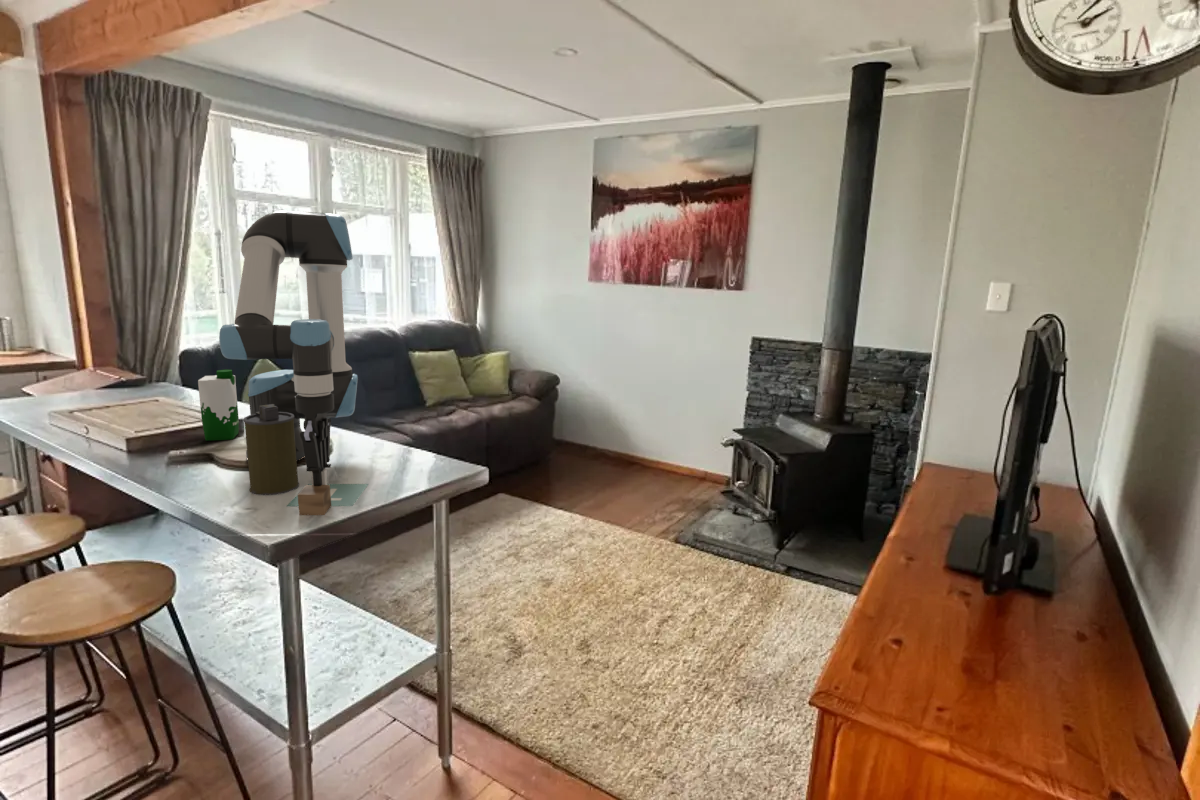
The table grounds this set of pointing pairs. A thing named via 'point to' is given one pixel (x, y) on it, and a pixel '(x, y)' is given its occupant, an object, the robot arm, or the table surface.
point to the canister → (271, 451)
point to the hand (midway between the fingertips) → (320, 497)
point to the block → (314, 500)
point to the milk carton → (219, 406)
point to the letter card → (340, 494)
